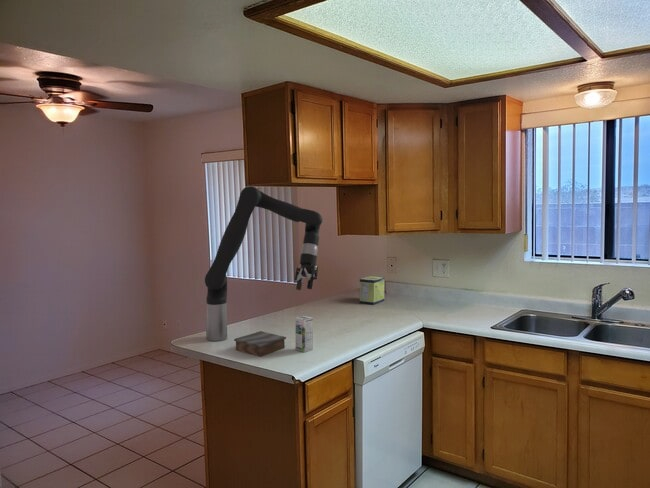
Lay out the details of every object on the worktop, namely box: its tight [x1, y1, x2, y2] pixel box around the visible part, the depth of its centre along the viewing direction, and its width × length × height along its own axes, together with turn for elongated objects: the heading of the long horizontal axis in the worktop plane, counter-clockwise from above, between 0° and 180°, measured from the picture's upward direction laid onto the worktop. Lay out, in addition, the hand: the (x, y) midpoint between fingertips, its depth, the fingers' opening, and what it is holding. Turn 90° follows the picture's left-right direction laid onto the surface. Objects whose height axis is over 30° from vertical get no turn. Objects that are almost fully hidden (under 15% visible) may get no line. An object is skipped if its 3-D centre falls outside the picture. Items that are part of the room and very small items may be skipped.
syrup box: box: [294, 315, 314, 353], centre depth 211 cm, size 6×6×14 cm
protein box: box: [359, 275, 385, 306], centre depth 311 cm, size 10×16×16 cm
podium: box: [233, 330, 287, 357], centre depth 213 cm, size 16×16×5 cm
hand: (303, 289), depth 218 cm, fingers open, 8 cm apart
